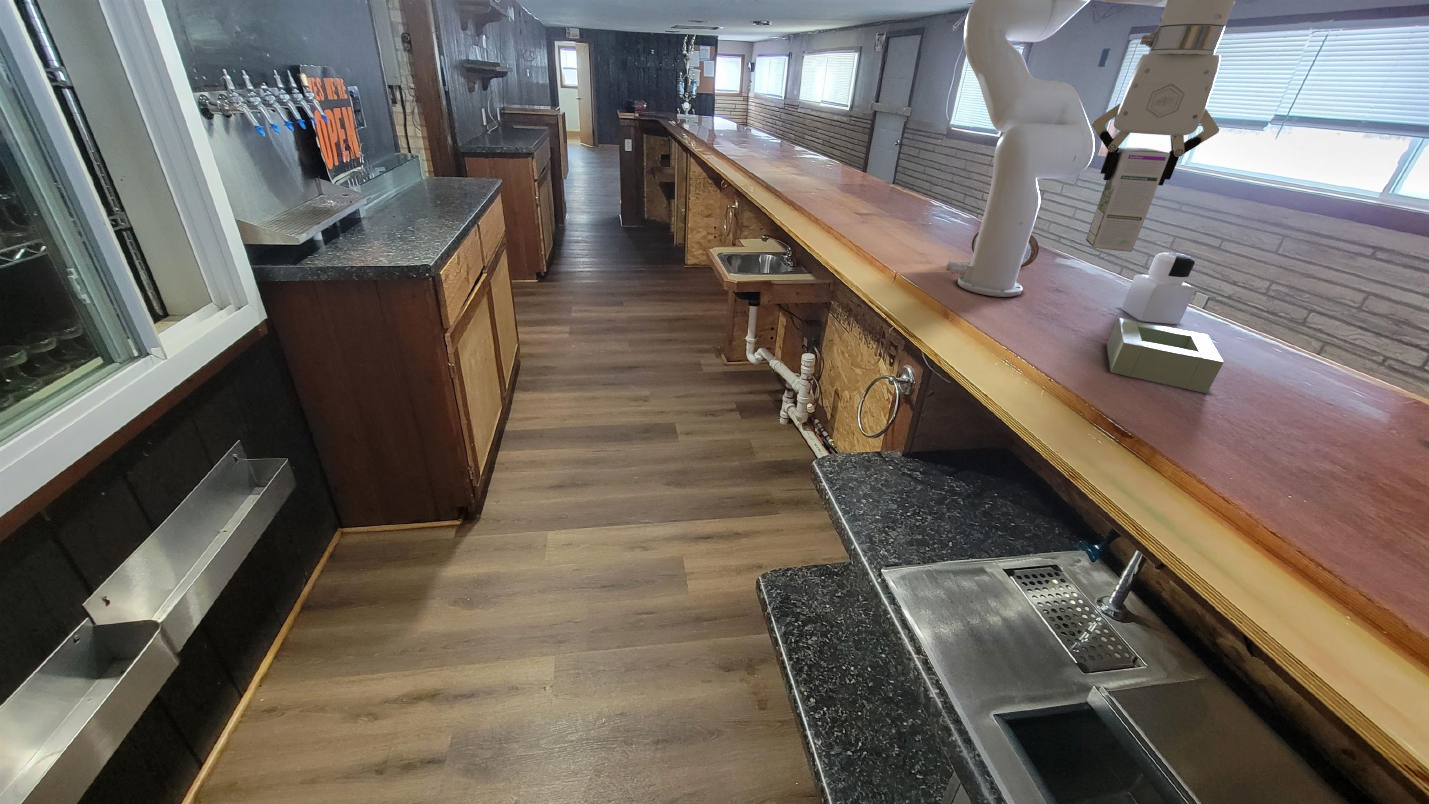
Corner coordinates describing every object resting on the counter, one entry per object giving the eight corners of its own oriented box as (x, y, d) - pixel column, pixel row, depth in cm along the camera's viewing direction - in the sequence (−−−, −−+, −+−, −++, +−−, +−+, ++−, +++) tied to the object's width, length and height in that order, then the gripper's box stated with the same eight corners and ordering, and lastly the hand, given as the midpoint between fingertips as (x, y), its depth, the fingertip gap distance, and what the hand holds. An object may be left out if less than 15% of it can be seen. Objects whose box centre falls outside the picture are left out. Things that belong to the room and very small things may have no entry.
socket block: (1110, 372, 86) (1123, 342, 83) (1106, 345, 95) (1118, 318, 92) (1206, 393, 81) (1224, 362, 78) (1193, 363, 90) (1207, 334, 88)
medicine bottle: (1157, 311, 111) (1185, 251, 106) (1179, 325, 105) (1210, 261, 99) (1119, 308, 112) (1145, 248, 106) (1139, 322, 106) (1167, 258, 100)
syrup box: (1133, 252, 88) (1174, 152, 81) (1090, 248, 90) (1127, 148, 83) (1123, 244, 93) (1161, 149, 86) (1083, 240, 94) (1117, 146, 87)
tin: (1032, 270, 134) (1044, 235, 129) (1027, 273, 132) (1039, 236, 127) (971, 256, 143) (980, 222, 139) (965, 258, 141) (975, 224, 137)
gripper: (1113, 41, 78) (1068, 178, 87) (1271, 42, 71) (1205, 191, 80) (1110, 45, 84) (1068, 173, 93) (1256, 46, 77) (1196, 185, 86)
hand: (1132, 180), depth 86 cm, fingers closed on syrup box, 6 cm apart
